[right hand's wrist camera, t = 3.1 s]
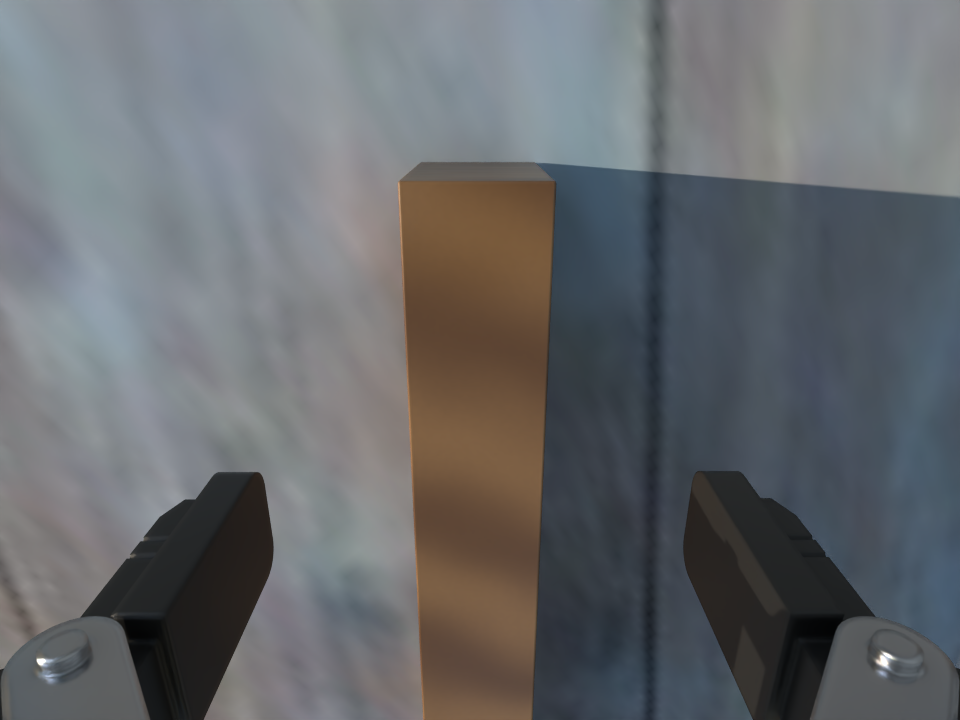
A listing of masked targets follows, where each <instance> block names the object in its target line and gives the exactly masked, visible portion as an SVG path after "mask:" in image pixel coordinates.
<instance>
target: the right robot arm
mask: <svg viewBox="0 0 960 720" xmlns="http://www.w3.org/2000/svg"><path fill="white" fill-rule="evenodd" d="M683 550H684V561H685V566H686V570H687V573H688V576H689V578H690V580H691V583H692V585H693V587H694V589H695V591H696V594H697V596H698V598H699V600H700V603H701V605H702V607H703V609H704V611H705V614H706V616H707V618H708V620H709V623H710V625H711V627H712V629H713V631H714V634H715V636H716V638H717V640H718V643H719V645H720V647H721V649H722V652H723V654H724V656H725V658H726V660H727V663H728V665H729V667H730V669H731V672H732V674H733V676H734V678H735V680H736V683H737V685H738V687H739V689H740V692H741V694H742V696H743V698H744V700H745V703H746V705H747V707H748V709H749V712H750V714H751V716H752V718H753V720H960V669H958V668H955V666H954V665H953V663H952V661H951V660H950V659H949V658H948V656H947V655H946V654H945V653H944V652H943V651H942V650H941V649H940V648H939V647H938V646H937V645H935V644H934V643H933V642H932V641H930V640H929V639H928V638H926V637H925V636H923V635H922V634H920V633H918V632H916V631H914V630H913V629H911V628H909V627H906V626H904V625H902V624H899V623H897V622H894V621H891V620H887V619H883V618H878V617H875V616H874V614H873V613H872V612H871V610H870V609H869V608H868V607H867V605H866V604H865V603H864V601H863V600H862V599H861V598H860V596H859V595H858V594H857V593H856V591H855V590H854V589H853V587H852V586H851V585H850V584H849V582H848V581H847V580H846V578H845V577H844V576H843V575H842V573H841V572H840V571H839V570H838V568H837V567H836V566H835V564H834V563H833V562H832V561H831V559H830V558H829V557H826V556H825V552H824V550H823V549H822V548H821V547H820V545H819V544H818V543H817V541H816V540H813V539H812V535H811V534H810V533H809V531H808V530H807V529H806V527H805V526H804V525H803V524H802V522H801V521H800V520H799V518H798V517H797V516H796V515H795V514H793V513H792V512H790V511H789V510H787V509H786V508H784V507H783V506H782V505H780V504H779V503H777V502H776V501H774V500H773V499H771V498H760V497H759V496H758V494H757V493H756V491H755V490H754V489H753V487H752V486H751V485H750V483H749V482H748V480H747V479H746V478H745V476H744V475H743V474H742V473H741V472H739V471H698V472H696V474H695V475H694V478H693V482H692V487H691V494H690V501H689V508H688V514H687V521H686V528H685V535H684V544H683ZM272 561H273V537H272V530H271V523H270V517H269V510H268V503H267V497H266V490H265V484H264V480H263V477H262V475H261V474H260V473H259V472H218V473H216V474H214V475H213V477H212V478H211V479H210V481H209V482H208V483H207V485H206V486H205V488H204V489H203V490H202V492H201V493H200V494H199V496H198V497H197V498H196V500H184V501H182V502H181V503H179V504H178V505H176V506H175V507H174V508H172V509H171V510H169V511H168V512H166V513H165V514H163V515H162V516H161V517H159V519H158V520H157V521H156V522H155V524H154V525H153V526H152V527H151V529H150V530H149V531H148V533H147V534H146V535H145V536H144V540H143V541H140V543H139V544H138V545H137V546H136V548H135V549H134V550H133V552H132V553H131V554H130V559H126V560H125V562H124V563H123V564H122V565H121V567H120V568H119V569H118V571H117V572H116V573H115V574H114V576H113V577H112V578H111V579H110V581H109V582H108V583H107V584H106V586H105V587H104V588H103V589H102V591H101V592H100V593H99V595H98V596H97V597H96V598H95V600H94V601H93V602H92V603H91V605H90V606H89V607H88V608H87V610H86V611H85V612H84V614H83V615H82V616H81V617H80V618H77V619H73V620H69V621H66V622H63V623H61V624H58V625H56V626H54V627H51V628H49V629H47V630H46V631H44V632H42V633H40V634H38V635H37V636H35V637H34V638H32V639H31V640H30V641H28V642H27V643H26V644H25V645H23V646H22V647H21V648H20V649H19V650H18V651H17V652H16V653H15V654H14V655H13V656H12V658H11V659H10V660H9V661H8V663H7V665H6V666H5V668H4V669H1V670H0V720H204V718H205V715H206V713H207V711H208V709H209V707H210V704H211V702H212V700H213V698H214V696H215V693H216V691H217V689H218V687H219V685H220V682H221V680H222V678H223V676H224V674H225V671H226V669H227V667H228V665H229V663H230V660H231V658H232V656H233V654H234V652H235V649H236V647H237V645H238V643H239V641H240V638H241V636H242V634H243V632H244V630H245V627H246V625H247V623H248V621H249V619H250V616H251V614H252V612H253V610H254V608H255V605H256V603H257V601H258V599H259V597H260V594H261V592H262V590H263V588H264V586H265V583H266V581H267V579H268V577H269V574H270V571H271V567H272Z"/></svg>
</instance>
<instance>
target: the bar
mask: <svg viewBox="0 0 960 720" xmlns="http://www.w3.org/2000/svg"><path fill="white" fill-rule="evenodd" d="M398 196H399V218H400V239H401V260H402V281H403V302H404V323H405V344H406V365H407V386H408V407H409V428H410V449H411V470H412V491H413V512H414V533H415V554H416V575H417V596H418V618H419V639H420V660H421V681H422V702H423V720H533V698H534V676H535V653H536V630H537V608H538V585H539V562H540V540H541V517H542V494H543V472H544V449H545V426H546V404H547V381H548V358H549V336H550V313H551V290H552V268H553V245H554V223H555V200H556V181H554V180H553V179H552V178H551V177H550V176H549V175H548V174H547V173H546V172H545V171H544V170H543V169H542V168H540V167H539V166H538V165H537V164H536V163H534V162H421V163H420V164H418V165H417V166H416V167H415V168H414V169H413V170H411V171H410V172H409V173H408V174H407V175H406V176H404V177H403V178H402V179H401V180H400V181H399V182H398Z"/></svg>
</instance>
